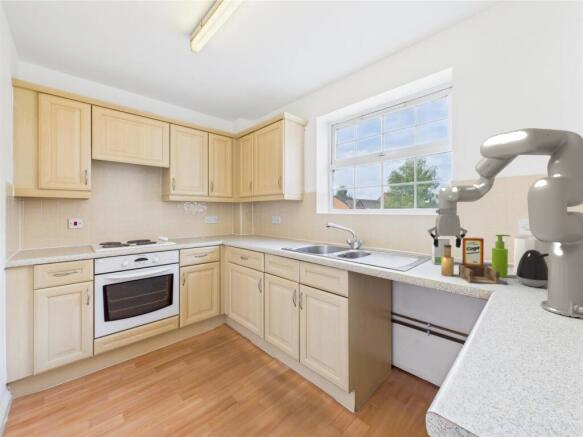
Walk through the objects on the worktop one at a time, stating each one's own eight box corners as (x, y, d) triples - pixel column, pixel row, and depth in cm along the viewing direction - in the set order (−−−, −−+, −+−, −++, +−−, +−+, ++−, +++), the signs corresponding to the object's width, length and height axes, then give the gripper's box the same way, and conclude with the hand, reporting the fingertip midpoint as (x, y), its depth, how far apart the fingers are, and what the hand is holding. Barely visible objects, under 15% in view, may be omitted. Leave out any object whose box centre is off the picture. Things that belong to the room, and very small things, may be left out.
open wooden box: (499, 284, 110) (499, 271, 110) (469, 283, 113) (469, 270, 113) (485, 277, 121) (485, 265, 121) (458, 276, 124) (458, 265, 124)
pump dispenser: (538, 290, 102) (539, 252, 101) (510, 283, 112) (510, 248, 111) (556, 287, 104) (557, 250, 104) (527, 281, 114) (527, 247, 114)
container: (518, 276, 123) (519, 239, 122) (510, 270, 135) (510, 236, 135) (560, 280, 116) (561, 240, 115) (546, 272, 129) (547, 237, 128)
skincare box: (433, 264, 151) (433, 238, 150) (431, 262, 157) (431, 236, 156) (449, 265, 148) (450, 238, 148) (446, 262, 154) (446, 237, 154)
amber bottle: (455, 276, 123) (455, 245, 123) (443, 276, 124) (443, 245, 124) (451, 274, 128) (451, 244, 128) (439, 273, 130) (439, 244, 129)
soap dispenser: (512, 277, 120) (513, 235, 119) (496, 277, 121) (496, 235, 120) (505, 274, 126) (505, 234, 125) (489, 274, 127) (489, 234, 126)
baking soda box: (463, 264, 148) (463, 237, 147) (462, 262, 154) (462, 236, 153) (483, 266, 143) (483, 238, 142) (481, 264, 149) (482, 236, 148)
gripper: (430, 212, 124) (430, 248, 124) (471, 212, 120) (470, 248, 121) (426, 212, 131) (425, 245, 132) (463, 212, 127) (463, 246, 128)
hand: (446, 247), depth 126 cm, fingers open, 9 cm apart
